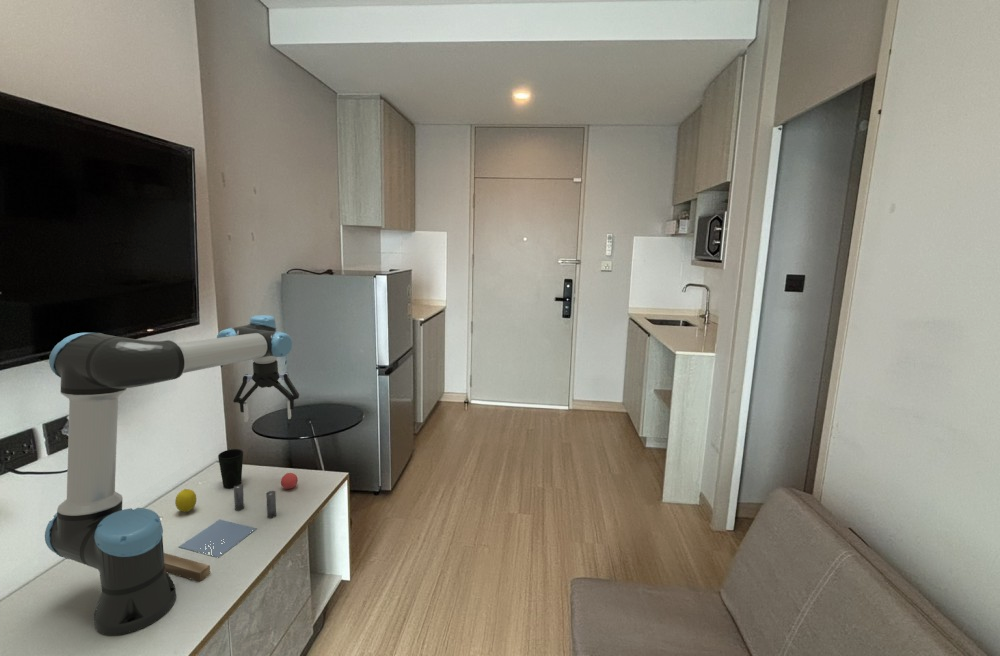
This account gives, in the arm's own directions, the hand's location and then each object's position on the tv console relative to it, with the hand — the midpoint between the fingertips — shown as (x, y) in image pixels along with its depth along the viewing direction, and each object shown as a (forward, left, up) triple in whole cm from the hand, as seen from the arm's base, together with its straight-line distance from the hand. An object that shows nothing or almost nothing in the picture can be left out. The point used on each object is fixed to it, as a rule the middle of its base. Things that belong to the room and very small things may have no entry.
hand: (268, 419), depth 158 cm
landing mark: (-28, -6, -26) cm, 39 cm away
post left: (-14, 0, -26) cm, 29 cm away
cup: (-3, +14, -26) cm, 29 cm away
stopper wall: (-42, -6, -26) cm, 50 cm away
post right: (-14, -13, -26) cm, 32 cm away
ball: (+2, -6, -23) cm, 24 cm away
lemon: (-21, +14, -26) cm, 36 cm away
